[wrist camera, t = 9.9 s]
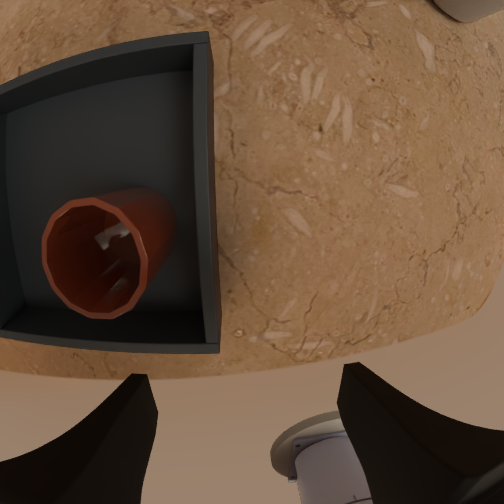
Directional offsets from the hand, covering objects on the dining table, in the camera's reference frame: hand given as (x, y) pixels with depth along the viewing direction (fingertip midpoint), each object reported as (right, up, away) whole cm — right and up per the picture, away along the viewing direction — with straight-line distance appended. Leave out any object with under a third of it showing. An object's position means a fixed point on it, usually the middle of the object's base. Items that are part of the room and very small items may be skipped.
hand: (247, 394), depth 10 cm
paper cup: (-7, +7, +7) cm, 12 cm away
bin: (-10, +8, +7) cm, 15 cm away
